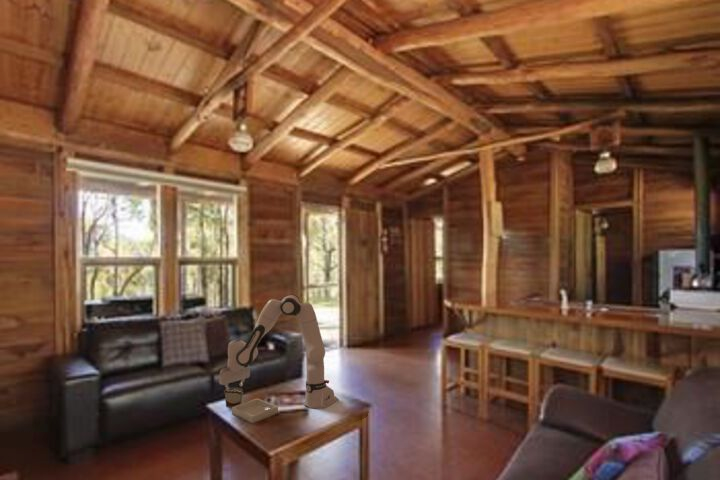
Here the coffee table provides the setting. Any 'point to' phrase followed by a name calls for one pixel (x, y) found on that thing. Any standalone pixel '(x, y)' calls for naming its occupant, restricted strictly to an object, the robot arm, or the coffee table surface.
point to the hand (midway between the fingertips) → (234, 388)
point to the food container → (233, 397)
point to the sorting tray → (254, 410)
